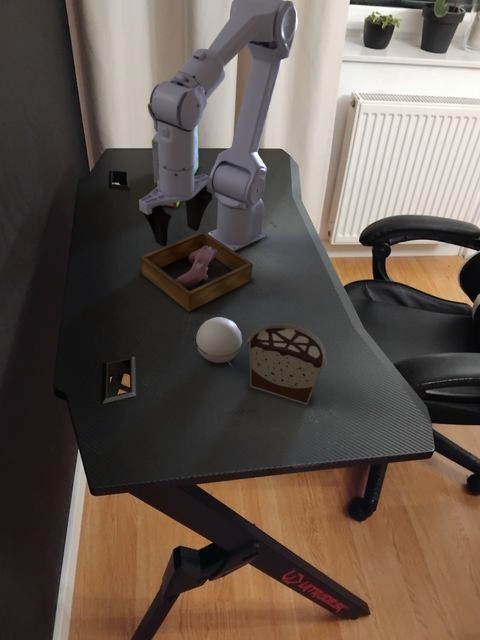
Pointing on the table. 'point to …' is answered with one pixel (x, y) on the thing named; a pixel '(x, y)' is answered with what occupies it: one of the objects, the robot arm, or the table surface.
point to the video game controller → (197, 266)
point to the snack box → (156, 161)
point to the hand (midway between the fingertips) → (177, 235)
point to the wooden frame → (205, 292)
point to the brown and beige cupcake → (285, 361)
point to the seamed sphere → (218, 340)
